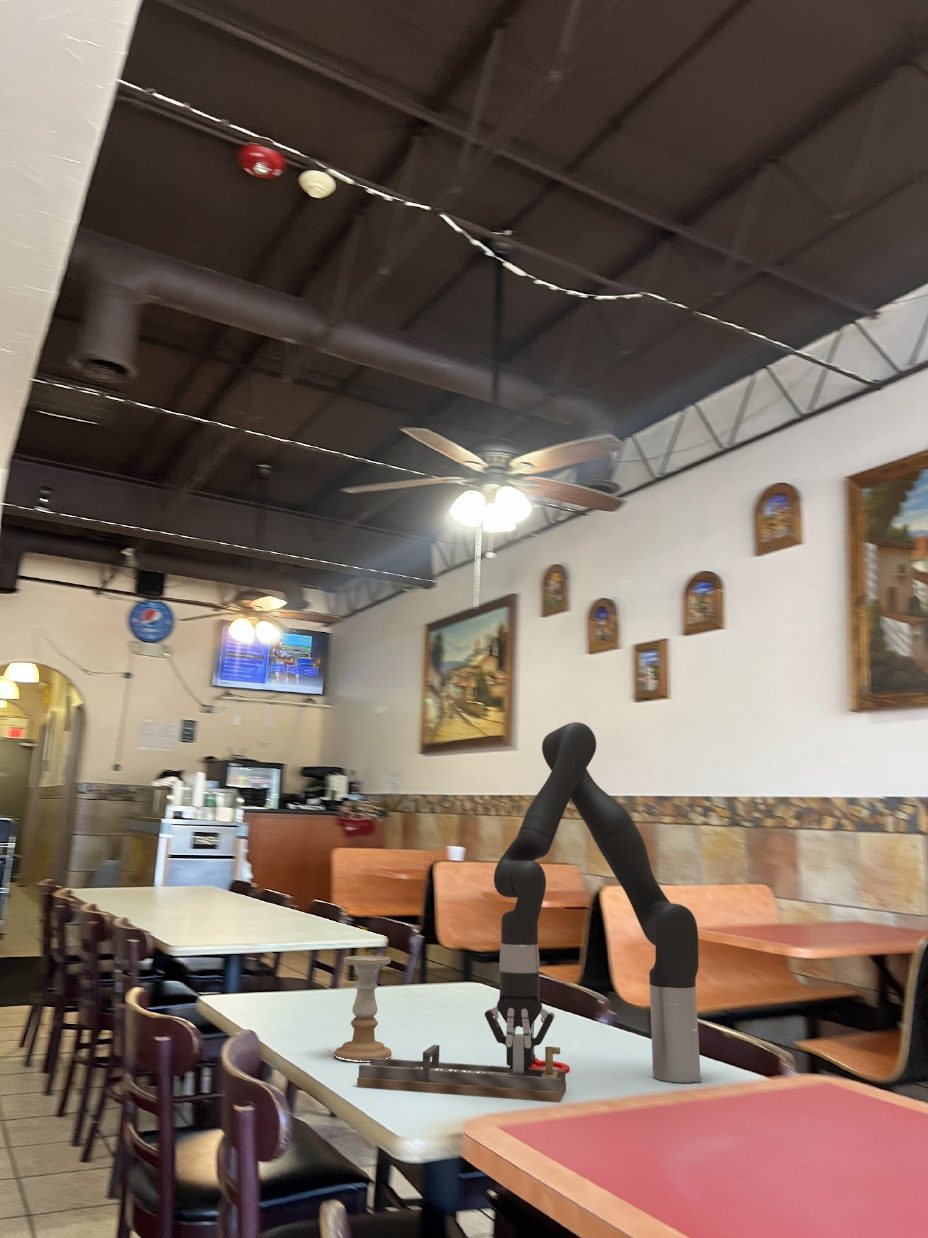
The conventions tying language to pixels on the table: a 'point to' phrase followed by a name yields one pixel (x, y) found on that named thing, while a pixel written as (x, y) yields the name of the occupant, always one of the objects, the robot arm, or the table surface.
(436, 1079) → the track
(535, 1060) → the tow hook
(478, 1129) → the table surface
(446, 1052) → the table surface
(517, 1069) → the grey l-shaped slider bar
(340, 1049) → the candle holder
